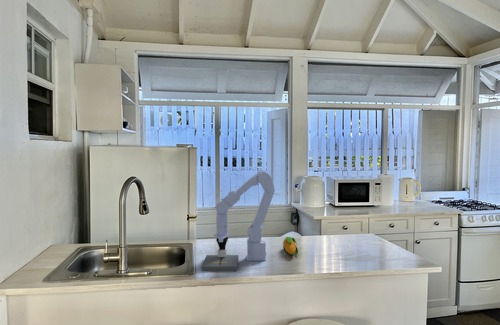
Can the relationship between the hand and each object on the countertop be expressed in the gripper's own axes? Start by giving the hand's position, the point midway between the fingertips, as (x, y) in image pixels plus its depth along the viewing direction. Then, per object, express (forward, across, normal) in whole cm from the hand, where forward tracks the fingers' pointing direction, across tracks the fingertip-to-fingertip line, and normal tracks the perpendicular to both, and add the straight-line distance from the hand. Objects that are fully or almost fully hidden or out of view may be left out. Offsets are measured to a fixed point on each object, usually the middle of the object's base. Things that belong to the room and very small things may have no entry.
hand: (222, 252), depth 168 cm
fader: (+1, +3, 0) cm, 3 cm away
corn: (+4, -10, +35) cm, 37 cm away
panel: (+3, +8, 0) cm, 8 cm away
